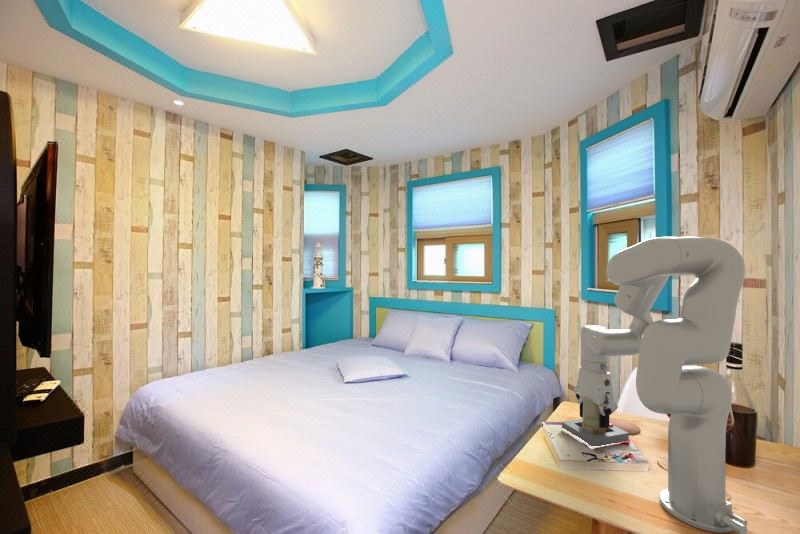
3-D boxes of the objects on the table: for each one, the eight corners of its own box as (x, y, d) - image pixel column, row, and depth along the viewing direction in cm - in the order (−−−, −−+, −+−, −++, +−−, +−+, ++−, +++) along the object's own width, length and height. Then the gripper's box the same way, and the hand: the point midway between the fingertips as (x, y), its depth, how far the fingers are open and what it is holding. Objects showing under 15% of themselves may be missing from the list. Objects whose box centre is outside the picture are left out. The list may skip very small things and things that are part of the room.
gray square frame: (628, 442, 105) (628, 430, 105) (591, 449, 101) (591, 437, 101) (596, 425, 117) (596, 414, 117) (561, 430, 113) (561, 419, 113)
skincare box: (583, 437, 108) (583, 398, 108) (581, 431, 112) (581, 394, 112) (607, 441, 106) (607, 402, 106) (604, 435, 110) (604, 397, 110)
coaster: (648, 432, 112) (648, 430, 112) (622, 436, 109) (622, 435, 109) (618, 417, 122) (618, 416, 122) (593, 421, 119) (593, 420, 119)
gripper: (628, 372, 102) (628, 433, 102) (582, 357, 118) (582, 409, 118) (608, 374, 99) (608, 436, 99) (563, 359, 116) (563, 412, 116)
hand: (594, 421), depth 109 cm, fingers closed on skincare box, 7 cm apart
